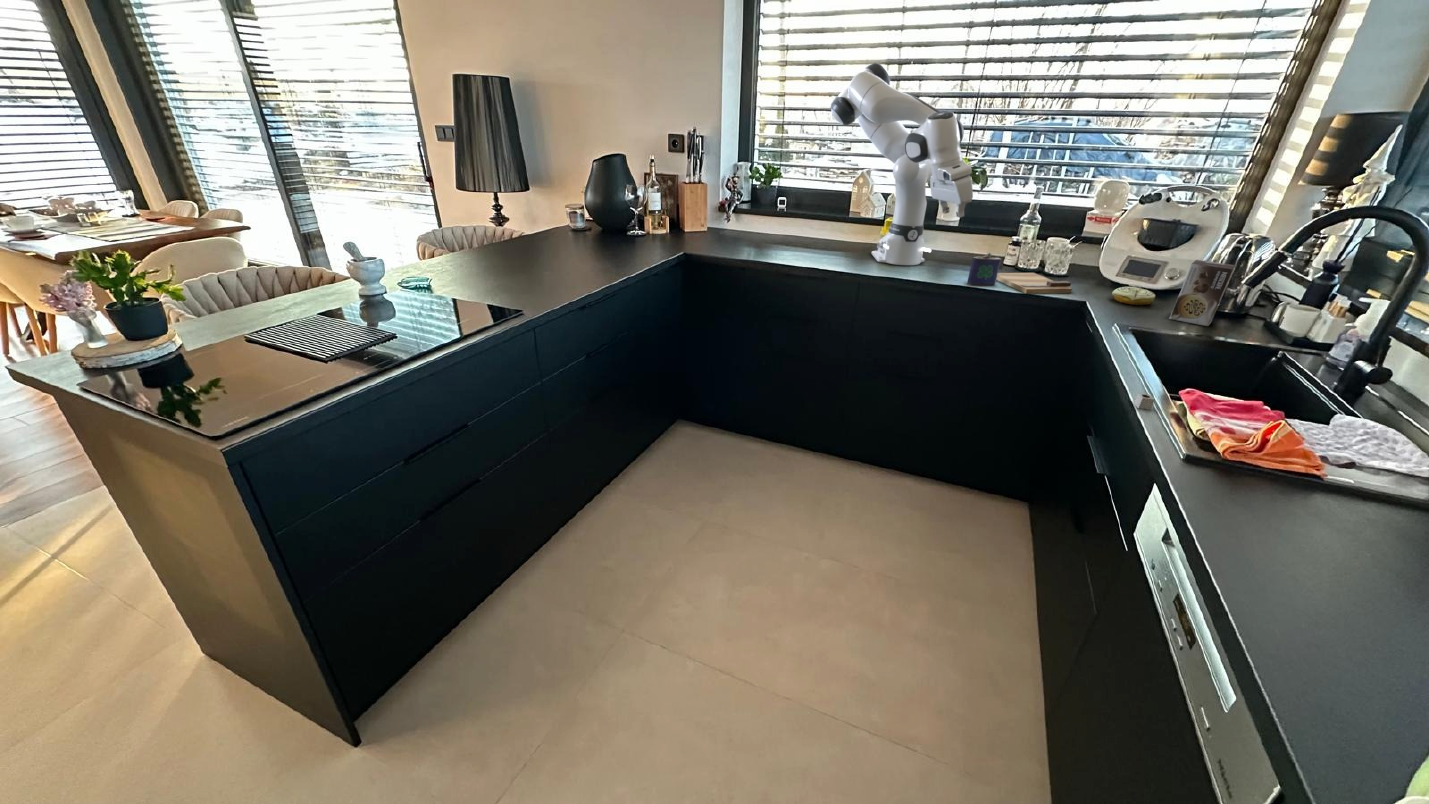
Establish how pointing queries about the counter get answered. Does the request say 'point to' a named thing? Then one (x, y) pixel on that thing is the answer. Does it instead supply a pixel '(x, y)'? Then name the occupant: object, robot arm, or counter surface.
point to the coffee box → (1202, 292)
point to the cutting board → (1030, 278)
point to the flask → (983, 270)
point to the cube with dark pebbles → (1144, 401)
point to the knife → (1049, 284)
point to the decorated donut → (1133, 295)
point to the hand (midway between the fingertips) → (953, 214)
